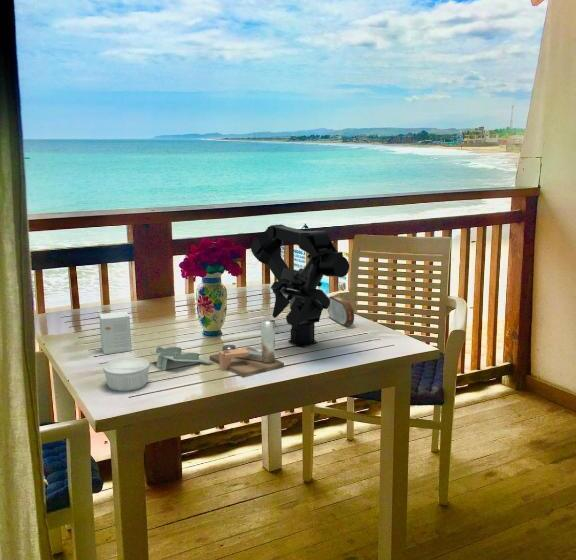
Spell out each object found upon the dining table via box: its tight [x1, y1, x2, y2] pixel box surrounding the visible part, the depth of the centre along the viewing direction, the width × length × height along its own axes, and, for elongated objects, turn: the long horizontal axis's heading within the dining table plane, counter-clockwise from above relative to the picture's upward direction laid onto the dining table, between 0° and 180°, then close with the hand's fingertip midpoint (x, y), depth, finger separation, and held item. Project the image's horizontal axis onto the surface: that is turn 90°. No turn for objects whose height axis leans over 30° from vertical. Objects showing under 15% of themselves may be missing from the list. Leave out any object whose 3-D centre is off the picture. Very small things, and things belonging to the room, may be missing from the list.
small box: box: [98, 311, 132, 355], centre depth 184 cm, size 8×6×10 cm
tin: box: [327, 294, 355, 327], centre depth 212 cm, size 15×3×8 cm, turn 22°
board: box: [209, 346, 285, 378], centre depth 175 cm, size 13×17×1 cm
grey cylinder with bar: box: [221, 318, 276, 363], centre depth 174 cm, size 16×4×11 cm, turn 66°
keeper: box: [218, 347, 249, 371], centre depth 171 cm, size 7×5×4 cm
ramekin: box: [102, 356, 151, 392], centre depth 159 cm, size 11×11×5 cm
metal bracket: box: [149, 345, 215, 372], centre depth 175 cm, size 14×6×15 cm
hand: (284, 320), depth 175 cm, fingers open, 9 cm apart
